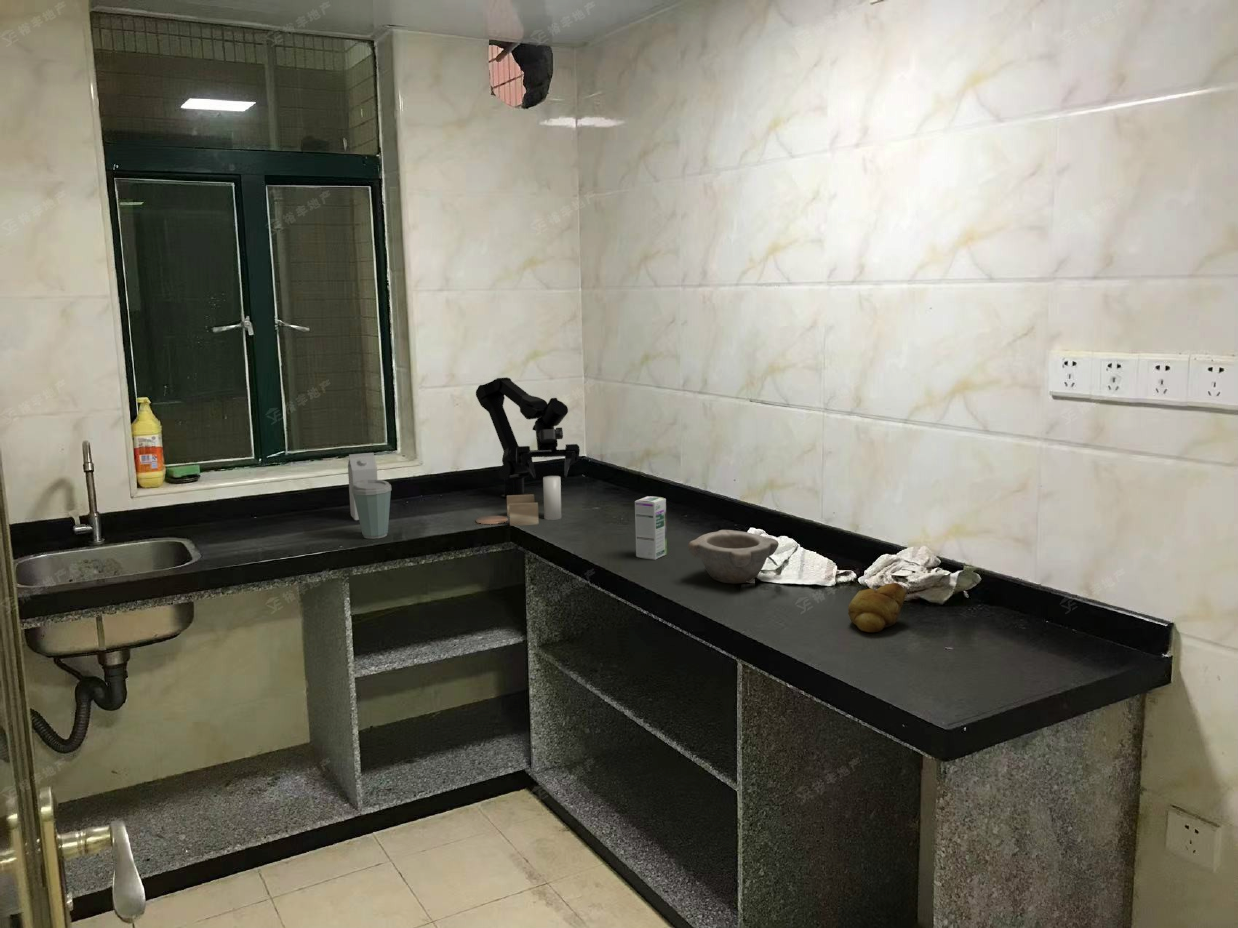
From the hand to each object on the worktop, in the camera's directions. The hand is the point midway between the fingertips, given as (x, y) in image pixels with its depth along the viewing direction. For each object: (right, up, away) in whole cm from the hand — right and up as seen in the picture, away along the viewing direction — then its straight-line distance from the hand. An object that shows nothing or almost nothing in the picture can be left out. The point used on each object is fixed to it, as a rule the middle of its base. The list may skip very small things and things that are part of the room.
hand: (550, 477), depth 287 cm
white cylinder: (+1, -12, -3) cm, 12 cm away
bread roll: (+69, -28, -97) cm, 123 cm away
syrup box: (+28, -19, -45) cm, 57 cm away
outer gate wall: (-7, -13, -10) cm, 18 cm away
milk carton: (-55, -12, +1) cm, 56 cm away
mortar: (+46, -22, -65) cm, 83 cm away
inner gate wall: (-9, -11, +1) cm, 14 cm away
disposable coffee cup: (-46, -16, -22) cm, 54 cm away
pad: (-16, -13, -6) cm, 22 cm away
